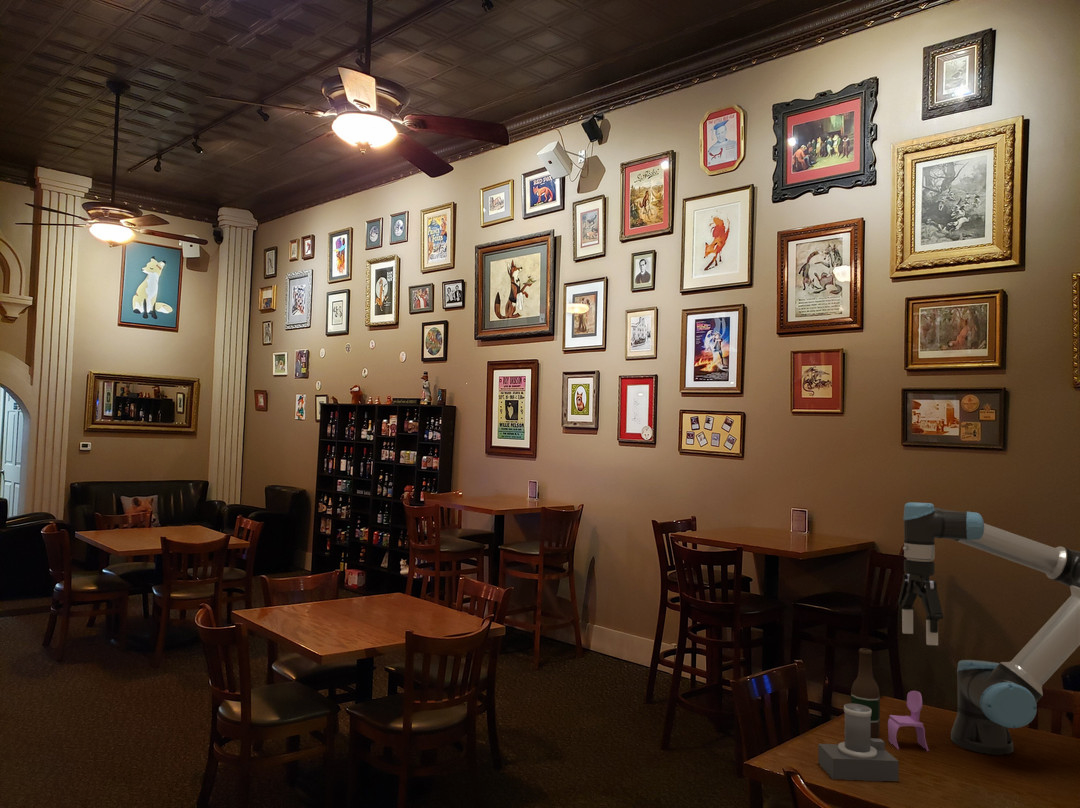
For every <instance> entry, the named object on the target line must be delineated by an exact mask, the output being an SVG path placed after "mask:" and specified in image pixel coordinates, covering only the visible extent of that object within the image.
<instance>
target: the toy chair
mask: <svg viewBox="0 0 1080 808" xmlns="http://www.w3.org/2000/svg"><path fill="white" fill-rule="evenodd" d="M906 707H907V709H908V710H909V711H910V715H895V714H889V718H888V719H887V720H888V721H887V729H888V730H887V731H888V743H889V742H890V743H889V744H890V745H892V744H893V745H894V746H895V747H896V748H897V749H896V748H895V747H894V746H893V745H892V746H893V747H894V748H895V749H896V750H898V749H900V747H899V743H898V741H897V740H898V739H897V734H898V731H899V730H900V728H901V727H914V728H915V732H916V739H917V744H918V743H919V744H920V745H921V746H922V747H921V746H920V745H919V744H918V745H919V746H920V747H921V748H923V749H924V748H925V749H926V751H927V752H928V751H929V752H930V749H929V746H928V744H927V740H926V729H925V727H924V723H923V722H922V721H920V716H921V710H922V709H923V697H922V694H921V692H920V691H917V690H910V691H909V692H908V693H907V695H906ZM925 749H924V750H925Z"/></svg>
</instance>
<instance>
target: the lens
mask: <svg viewBox="0 0 1080 808" xmlns="http://www.w3.org/2000/svg"><path fill="white" fill-rule="evenodd" d="M843 712H844V742H845V748H847V749H849V750H851V751H855V752H862V753H865V752H870V745H871V709H870V708H869V707H868V706H865V705H861V704H853V703H851V702H849V703H845V704H844V705H843Z"/></svg>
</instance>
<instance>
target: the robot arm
mask: <svg viewBox="0 0 1080 808" xmlns="http://www.w3.org/2000/svg"><path fill="white" fill-rule="evenodd" d="M902 520H903V547H902V549H903V557H904V558H905V559H904V560H903V572H904V573H903V574H902V584H901V588H900V590H899V591H900V592H899V596H898V601H897V605H898V606H900V608H901V617H902V618H901V622H902V623H901V624H902V625H901V628H902V630H901V631H902V634H906V635H907V634H908V635H911V634H912V635H914V606H913V605H914V604H915V601H916V599H917V597H919V598H920V599H921V601H922V604H923V608H924V611H925V612H926V613H925V614H926V615H927V616H926V617H925V622H926V623H925V627H926V628H925V630H926V631H925V639H926V640H925V641H926V642H925V643H926V645H927V646H939V621H940V620H943V619H944V614H943V610H942V607H941V602H940V598H939V593H938V585H937V581H936V580H931V579H930V577H933V576H934V575H935V570H936V568H935V566H936V564H935V562H934V560H935V558H936V557H935V556H936V551H935V550H936V547H935V546H936V545H935V539H947V540H952V541H955V542H958V543H960V544H964V545H965V546H969V547H972V548H975V549H977V550H981V551H983V552H986V553H989V554H991V555H994V556H997V557H999V558H1003V559H1006V560H1007V561H1011V562H1013V563H1016V564H1020V565H1022V566H1025V567H1028V568H1029V569H1033V570H1036V571H1039V572H1041V573H1043V574H1045V576H1046V578H1048V579H1050V580H1052V581H1055V582H1058V583H1060V584H1063V585H1064V586H1067V587H1069V589H1070V594H1071V595H1070V596H1069V597H1068V598H1067V599H1066V601H1065V602H1064V603H1063V604H1062V605H1061V606H1060V607H1059V608H1058V609H1057V610H1056V612H1055V613H1054V614H1052V616H1051V617H1050V618H1049V619H1048V620H1047V622H1046V623H1045V624H1043V626H1042V627H1040V628H1039V630H1038V631H1037V632H1036V633H1035V634H1034V635H1033V637H1031V638H1030V640H1029V641H1028V642H1027V643H1026V644H1025V645H1024V647H1022V648H1021V650H1020V651H1019V652H1018V653H1017V654H1015V656H1014V657H1013V659H1011V660H1010V661H1000V663H999V662H994V661H993V662H992V661H986V660H977V659H976V660H975V659H962V660H959V661H958V663H957V670H956V675H957V678H956V679H957V680H956V681H957V714H956V717H955V719H954V723H953V725H952V729H951V731H950V740H952V741H953V742H954V743H955V744H954V743H953V742H952V741H951V742H952V743H953V744H954V745H956V744H957V745H959V746H960V748H962V747H963V748H962V749H964V748H965V750H967V749H969V750H968V751H971V750H972V751H971V752H974V751H975V753H978V752H979V753H980V754H984V753H986V754H985V755H991V754H992V756H1005V755H1004V754H1007V755H1010V754H1009V753H1011V754H1013V753H1014V741H1013V739H1012V736H1011V732H1010V729H1018V728H1019V729H1020V728H1023V727H1026V726H1028V725H1029V724H1030V723H1032V721H1033V720H1034V719H1035V717H1036V715H1037V711H1038V709H1037V703H1038V701H1040V699H1042V697H1043V695H1044V694H1043V685H1045V683H1046V682H1047V681H1048V680H1049V679H1050V678H1051V677H1052V676H1053V675H1054V673H1056V671H1057V670H1058V669H1059V668H1060V667H1061V666H1062V665H1063V664H1064V663H1065V661H1066V660H1067V659H1068V658H1069V657H1070V656H1071V655H1072V654H1073V653H1074V652H1075V651H1076V649H1078V647H1080V551H1079V550H1075V549H1074V550H1073V549H1070V548H1067V547H1065V546H1061V545H1060V546H1057V547H1053V546H1050V545H1048V544H1045V543H1042V542H1039V541H1035V540H1034V539H1030V538H1027V537H1025V536H1022V535H1019V534H1015V533H1013V532H1010V531H1007V530H1005V529H1002V528H998V527H996V526H992V525H990V524H988V523H985V522H984V518H983V517H982V515H981V514H980V513H979V512H973V511H968V510H967V511H960V510H959V511H958V510H950V509H945V508H941V507H939V508H938V507H937V508H935V505H934V504H933V503H931V502H914V501H913V502H907V503H905V504H904V508H903V518H902ZM1009 728H1010V729H1009ZM957 745H956V746H957ZM959 746H958V747H959ZM1012 752H1013V753H1012Z"/></svg>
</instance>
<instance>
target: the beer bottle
mask: <svg viewBox="0 0 1080 808" xmlns="http://www.w3.org/2000/svg"><path fill="white" fill-rule="evenodd" d="M858 654H859V658H858V672H857V677H856V678H855V680H854V681H853V683H852V686H851V691H850V703H853V704H861V705H865V706H868V707H869V708H870V709H871V738H872V739H878V737H879V736H880V730H881V727H880V726H881V724H880V723H881V720H880V719H881V718H880V717H881V715H880V713H881V712H880V711H881V710H880V708H881V705H880V704H881V702H880V700H881V698H880V697H881V695H880V688H879V685H878V683H877V682H876V681H875V678H874V674H873V665H872V664H873V661H872V655H873V650H872V649H870V648H865V647H861V648H859V649H858Z"/></svg>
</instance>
